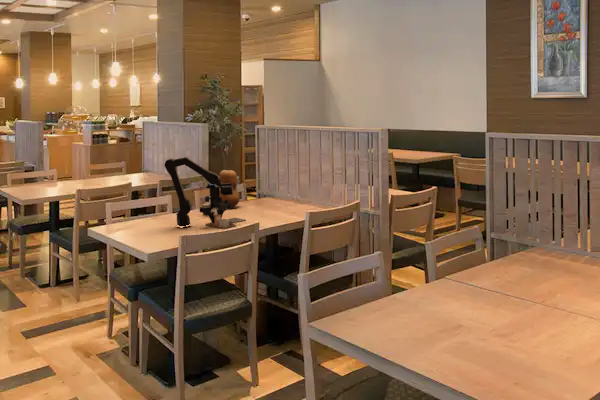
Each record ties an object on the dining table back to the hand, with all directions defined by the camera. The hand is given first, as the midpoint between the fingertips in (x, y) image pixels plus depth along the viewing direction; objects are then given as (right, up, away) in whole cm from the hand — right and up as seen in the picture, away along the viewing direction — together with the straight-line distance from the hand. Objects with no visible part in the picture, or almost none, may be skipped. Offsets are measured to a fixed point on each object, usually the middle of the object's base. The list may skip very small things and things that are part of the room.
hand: (216, 222), depth 341 cm
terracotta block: (0, -2, 0) cm, 2 cm away
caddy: (+3, -2, -2) cm, 4 cm away
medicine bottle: (-8, +3, +30) cm, 31 cm away
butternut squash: (+1, +7, +51) cm, 52 cm away
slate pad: (+9, 0, +10) cm, 13 cm away
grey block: (+5, -2, -5) cm, 7 cm away
